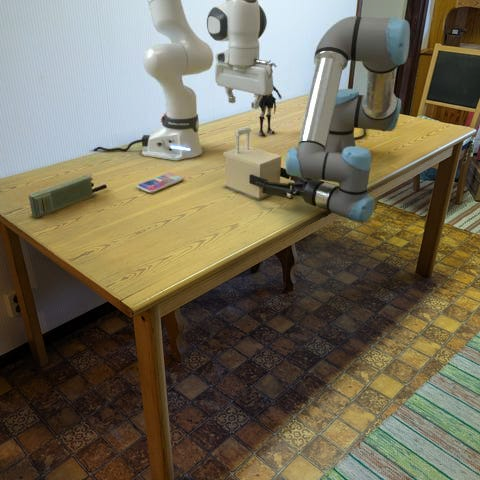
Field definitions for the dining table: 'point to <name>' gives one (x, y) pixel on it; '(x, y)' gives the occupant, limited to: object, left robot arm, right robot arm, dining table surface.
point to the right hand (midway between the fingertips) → (261, 173)
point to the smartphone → (159, 182)
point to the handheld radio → (62, 195)
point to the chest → (240, 173)
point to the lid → (250, 152)
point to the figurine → (268, 107)
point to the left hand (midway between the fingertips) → (243, 105)
